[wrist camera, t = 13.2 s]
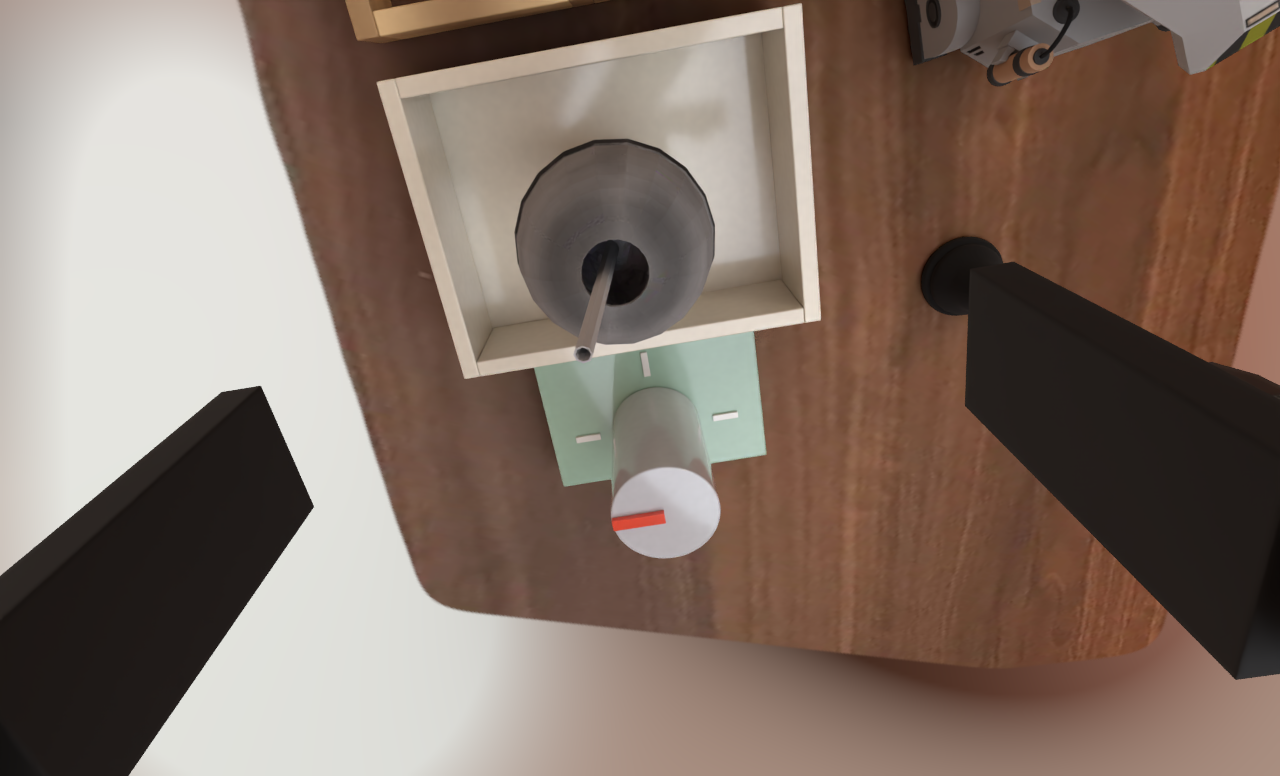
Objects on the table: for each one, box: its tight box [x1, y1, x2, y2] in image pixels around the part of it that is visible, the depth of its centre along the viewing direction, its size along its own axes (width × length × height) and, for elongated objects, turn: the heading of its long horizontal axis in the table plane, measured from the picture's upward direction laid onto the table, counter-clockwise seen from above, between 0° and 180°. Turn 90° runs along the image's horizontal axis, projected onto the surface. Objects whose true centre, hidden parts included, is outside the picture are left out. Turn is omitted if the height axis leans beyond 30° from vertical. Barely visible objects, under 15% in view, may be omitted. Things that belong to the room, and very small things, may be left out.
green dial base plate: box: [534, 331, 767, 486], centre depth 40 cm, size 12×10×3 cm
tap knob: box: [611, 387, 721, 558], centre depth 35 cm, size 5×5×9 cm
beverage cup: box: [514, 139, 715, 363], centre depth 27 cm, size 7×7×20 cm
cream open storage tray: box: [377, 3, 821, 379], centre depth 34 cm, size 18×14×6 cm
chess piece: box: [921, 237, 1003, 316], centre depth 34 cm, size 4×4×10 cm
